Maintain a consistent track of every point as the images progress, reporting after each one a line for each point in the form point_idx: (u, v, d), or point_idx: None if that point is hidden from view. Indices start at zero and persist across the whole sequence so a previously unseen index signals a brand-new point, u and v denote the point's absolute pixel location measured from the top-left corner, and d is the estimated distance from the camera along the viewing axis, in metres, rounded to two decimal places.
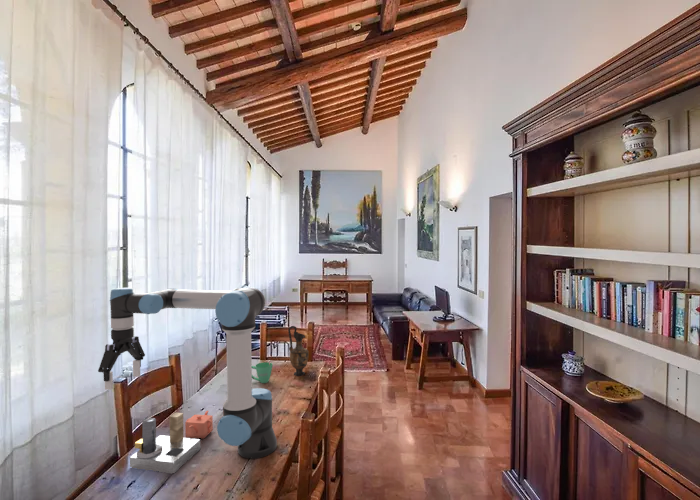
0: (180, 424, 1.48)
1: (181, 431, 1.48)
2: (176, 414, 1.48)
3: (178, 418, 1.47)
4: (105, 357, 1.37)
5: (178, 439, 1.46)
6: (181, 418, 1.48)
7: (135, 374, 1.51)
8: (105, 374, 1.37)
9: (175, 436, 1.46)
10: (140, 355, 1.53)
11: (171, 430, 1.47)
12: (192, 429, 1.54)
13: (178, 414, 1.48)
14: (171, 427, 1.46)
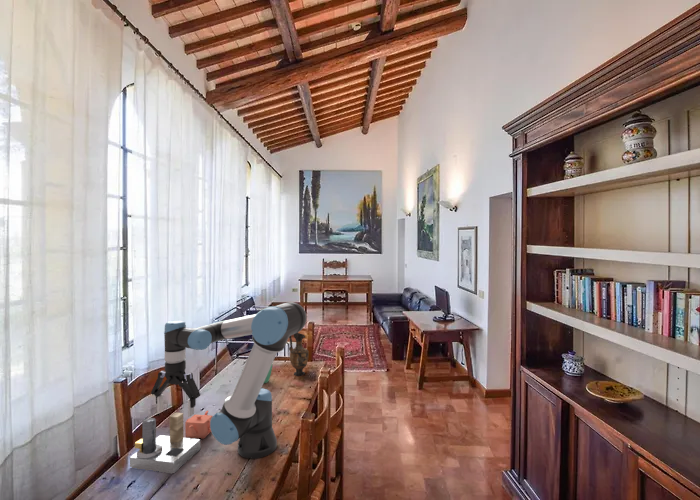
0: (180, 424, 1.48)
1: (181, 431, 1.48)
2: (176, 414, 1.48)
3: (178, 418, 1.47)
4: None
5: (178, 439, 1.46)
6: (181, 418, 1.48)
7: None
8: None
9: (175, 436, 1.46)
10: None
11: (171, 430, 1.47)
12: (192, 429, 1.54)
13: (178, 414, 1.48)
14: (171, 427, 1.46)
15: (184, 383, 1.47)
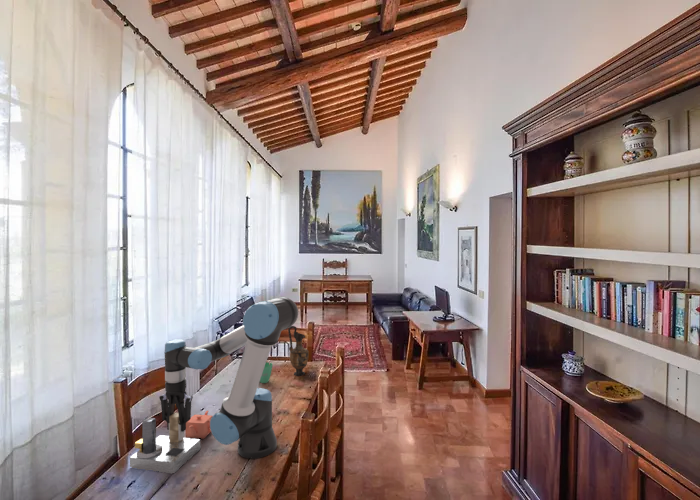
0: None
1: None
2: (176, 414, 1.48)
3: (178, 418, 1.47)
4: None
5: None
6: None
7: None
8: None
9: (175, 436, 1.46)
10: (183, 419, 1.47)
11: (171, 430, 1.47)
12: (192, 429, 1.54)
13: (178, 414, 1.48)
14: (171, 427, 1.46)
15: (181, 405, 1.47)
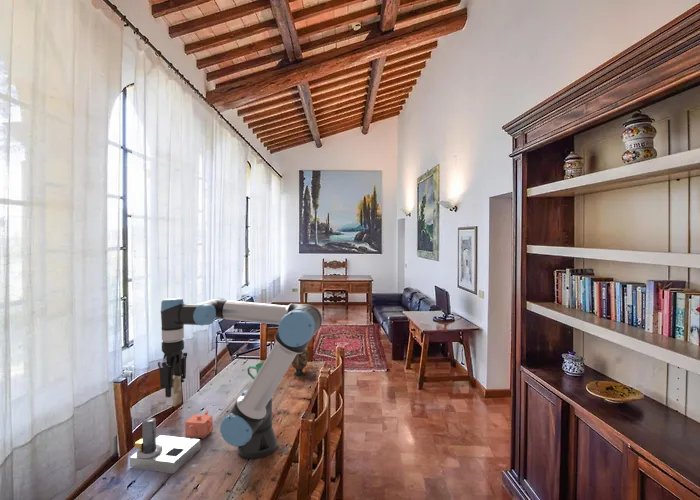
0: None
1: None
2: None
3: None
4: (162, 374, 1.34)
5: None
6: None
7: None
8: (167, 390, 1.36)
9: (179, 397, 1.40)
10: (181, 377, 1.43)
11: (176, 393, 1.38)
12: (192, 429, 1.54)
13: (173, 376, 1.40)
14: (176, 389, 1.38)
15: None
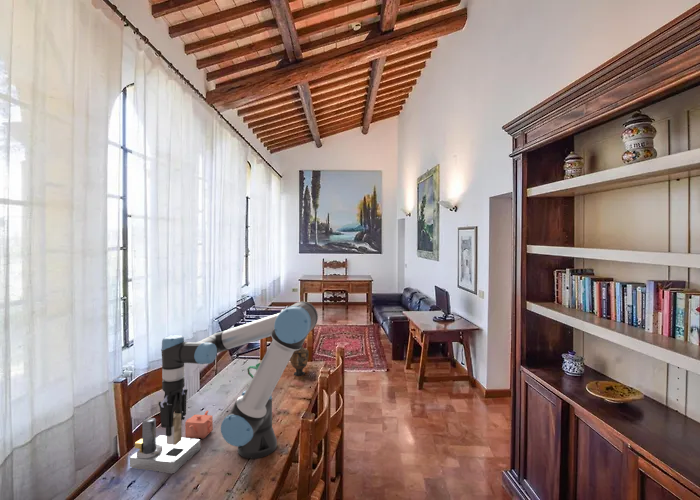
0: None
1: None
2: None
3: None
4: (163, 414, 1.33)
5: None
6: None
7: None
8: (167, 429, 1.35)
9: (179, 435, 1.39)
10: None
11: (176, 431, 1.38)
12: (192, 429, 1.54)
13: (174, 414, 1.40)
14: (176, 428, 1.38)
15: None
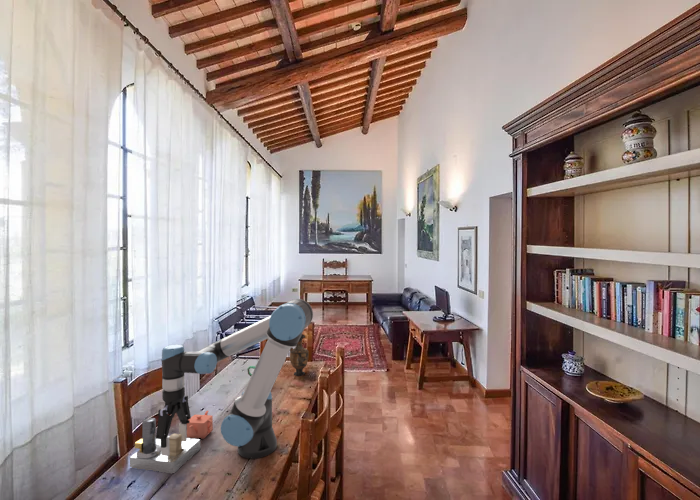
0: None
1: None
2: (173, 436, 1.39)
3: None
4: (160, 423, 1.32)
5: None
6: None
7: None
8: (162, 440, 1.33)
9: None
10: None
11: (177, 452, 1.38)
12: (192, 429, 1.54)
13: (174, 435, 1.40)
14: (177, 449, 1.38)
15: None
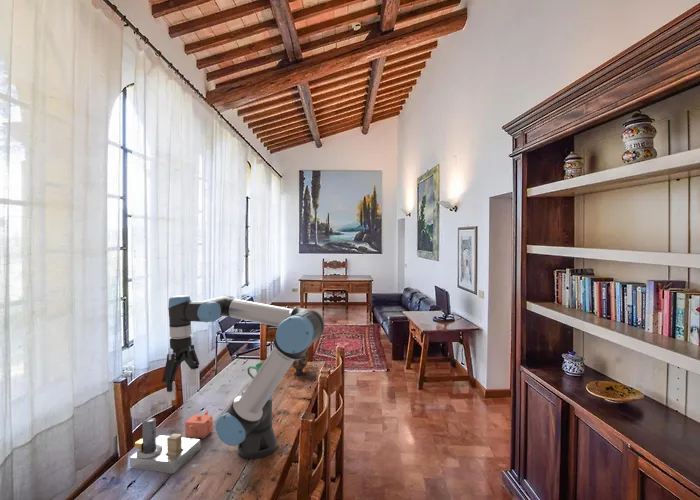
0: None
1: None
2: (173, 436, 1.39)
3: None
4: (168, 367, 1.34)
5: None
6: None
7: (191, 383, 1.48)
8: (168, 384, 1.33)
9: None
10: (195, 364, 1.50)
11: (177, 452, 1.38)
12: (192, 429, 1.54)
13: (174, 435, 1.40)
14: (177, 449, 1.38)
15: None
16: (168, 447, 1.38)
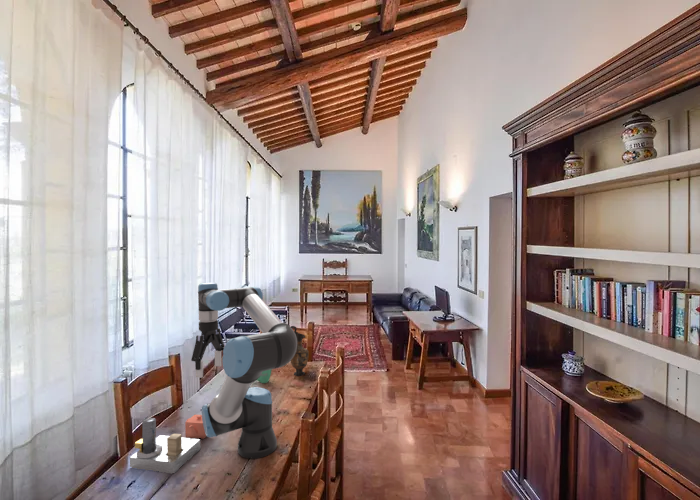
0: None
1: None
2: (173, 436, 1.39)
3: None
4: (197, 347, 1.47)
5: None
6: None
7: (217, 364, 1.61)
8: (197, 363, 1.46)
9: None
10: None
11: (177, 452, 1.38)
12: (192, 429, 1.54)
13: (174, 435, 1.40)
14: (177, 449, 1.38)
15: None
16: (168, 447, 1.38)
